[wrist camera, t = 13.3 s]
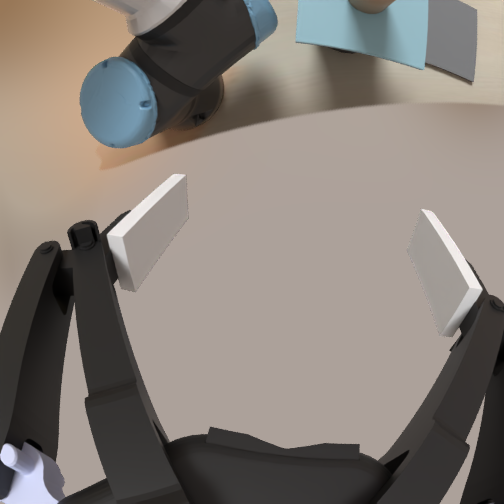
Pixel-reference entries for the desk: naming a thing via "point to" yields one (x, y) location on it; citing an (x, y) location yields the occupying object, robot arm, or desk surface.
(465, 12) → the mat
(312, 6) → the lid
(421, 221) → the robot arm
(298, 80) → the desk surface
